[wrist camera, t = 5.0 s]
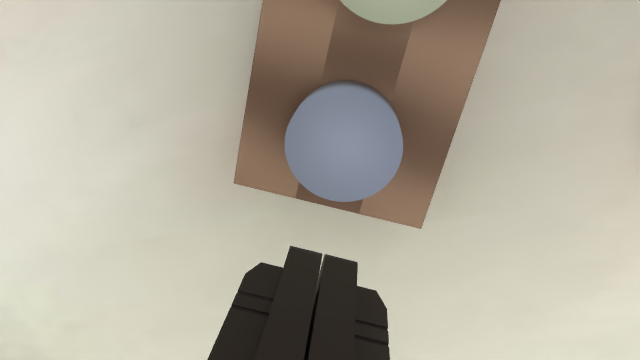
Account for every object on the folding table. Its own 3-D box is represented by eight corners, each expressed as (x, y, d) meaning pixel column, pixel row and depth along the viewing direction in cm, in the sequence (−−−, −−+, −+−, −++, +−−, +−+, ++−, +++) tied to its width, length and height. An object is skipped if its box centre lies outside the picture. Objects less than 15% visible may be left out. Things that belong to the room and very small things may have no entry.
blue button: (310, 60, 24) (297, 75, 19) (408, 84, 24) (418, 104, 19) (291, 152, 26) (274, 186, 21) (381, 174, 26) (384, 213, 21)
